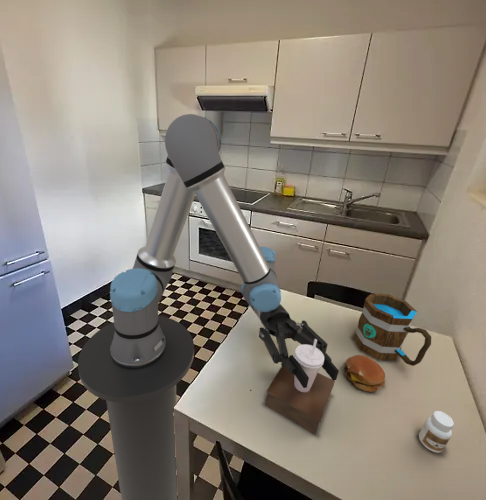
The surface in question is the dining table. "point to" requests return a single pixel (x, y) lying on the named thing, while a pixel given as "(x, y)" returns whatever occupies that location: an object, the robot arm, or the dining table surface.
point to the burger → (364, 373)
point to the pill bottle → (436, 431)
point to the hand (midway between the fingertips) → (321, 379)
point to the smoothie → (308, 363)
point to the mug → (387, 328)
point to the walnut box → (299, 399)
